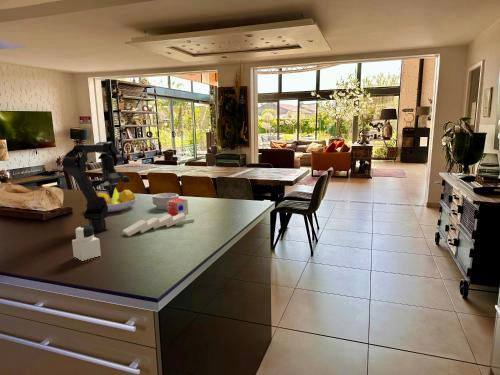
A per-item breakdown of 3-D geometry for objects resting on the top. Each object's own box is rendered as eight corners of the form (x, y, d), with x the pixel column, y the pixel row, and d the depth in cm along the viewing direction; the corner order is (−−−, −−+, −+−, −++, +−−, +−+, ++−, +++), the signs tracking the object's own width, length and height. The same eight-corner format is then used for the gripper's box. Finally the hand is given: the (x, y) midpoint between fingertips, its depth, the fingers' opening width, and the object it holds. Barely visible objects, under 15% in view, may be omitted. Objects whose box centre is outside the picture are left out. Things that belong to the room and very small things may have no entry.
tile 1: (127, 232, 151) (146, 221, 157) (122, 230, 155) (141, 219, 161) (129, 236, 152) (148, 225, 158) (124, 234, 156) (143, 223, 162)
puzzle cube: (177, 211, 194) (176, 198, 193) (188, 213, 190) (187, 199, 189) (167, 215, 188) (166, 201, 186) (178, 216, 184) (177, 202, 182)
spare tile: (175, 222, 168) (194, 219, 173) (171, 220, 172) (189, 216, 177) (175, 226, 168) (194, 222, 174) (171, 224, 172) (189, 220, 178)
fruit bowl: (128, 214, 190) (127, 194, 188) (80, 215, 191) (78, 195, 189) (145, 203, 218) (143, 185, 216) (103, 203, 218) (101, 186, 216)
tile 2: (140, 229, 156) (158, 218, 162) (135, 227, 159) (153, 216, 165) (142, 233, 157) (160, 222, 163) (137, 230, 160) (155, 220, 166)
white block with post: (92, 252, 134) (89, 223, 132) (101, 256, 129) (98, 226, 127) (73, 258, 129) (69, 227, 126) (82, 262, 124) (78, 231, 122)
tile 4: (165, 223, 164) (185, 215, 167) (163, 220, 169) (182, 212, 172) (167, 227, 165) (186, 218, 168) (165, 224, 169) (184, 215, 172)
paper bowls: (182, 205, 210) (181, 192, 209) (174, 211, 196) (173, 197, 194) (158, 204, 212) (157, 192, 210) (149, 211, 197) (148, 197, 196)
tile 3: (152, 225, 161) (171, 216, 165) (150, 222, 166) (168, 213, 170) (154, 229, 162) (173, 219, 166) (151, 226, 166) (170, 217, 170)
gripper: (94, 170, 157) (97, 203, 160) (133, 166, 169) (135, 197, 172) (86, 168, 165) (89, 200, 168) (123, 165, 177) (126, 194, 180)
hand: (111, 198), depth 172 cm, fingers closed
